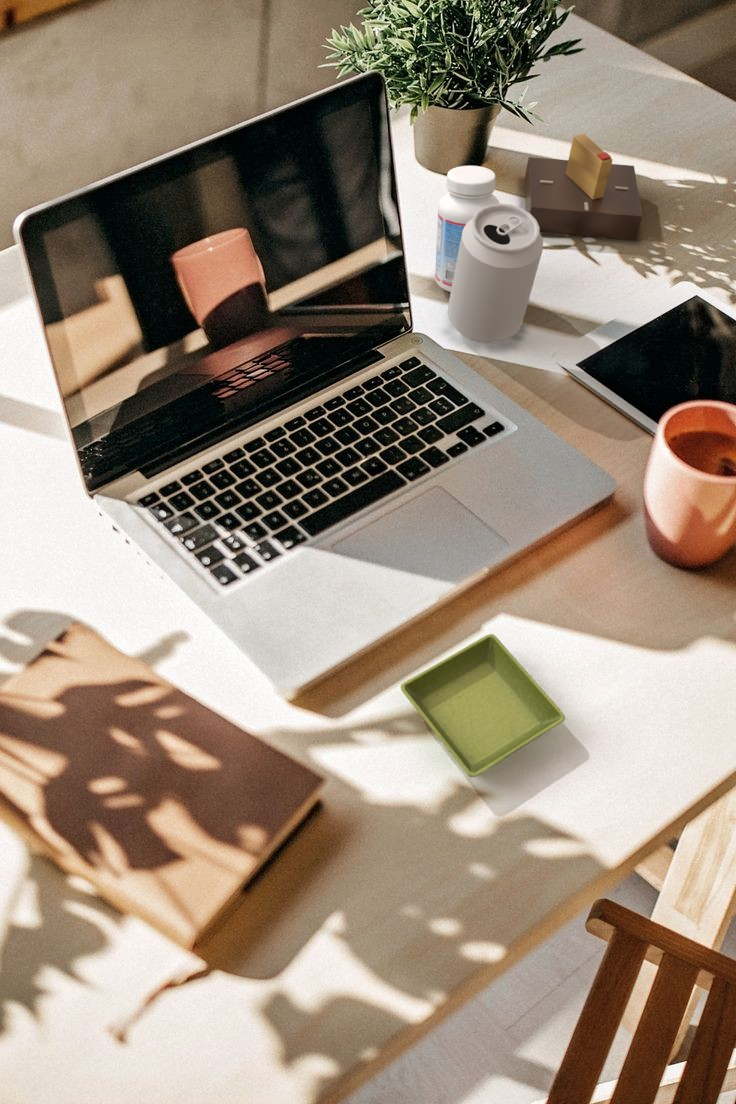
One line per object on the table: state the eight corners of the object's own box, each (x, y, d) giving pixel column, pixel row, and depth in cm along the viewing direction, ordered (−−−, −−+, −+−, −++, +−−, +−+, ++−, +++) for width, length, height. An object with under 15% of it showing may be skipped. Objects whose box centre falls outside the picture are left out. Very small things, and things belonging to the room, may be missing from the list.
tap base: (627, 189, 119) (634, 164, 117) (635, 240, 113) (642, 215, 111) (524, 180, 119) (528, 155, 117) (526, 231, 113) (531, 205, 111)
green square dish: (562, 732, 75) (568, 718, 73) (468, 792, 71) (471, 779, 70) (488, 646, 79) (492, 631, 77) (395, 700, 76) (397, 685, 74)
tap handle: (565, 173, 115) (573, 133, 111) (575, 171, 116) (584, 131, 112) (592, 200, 112) (602, 159, 108) (603, 197, 113) (613, 157, 109)
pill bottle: (506, 285, 106) (517, 176, 98) (461, 302, 103) (469, 192, 95) (466, 263, 109) (474, 157, 102) (422, 280, 106) (427, 171, 99)
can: (430, 314, 103) (447, 217, 92) (485, 283, 105) (507, 185, 95) (481, 360, 100) (504, 265, 90) (536, 326, 103) (564, 231, 92)
